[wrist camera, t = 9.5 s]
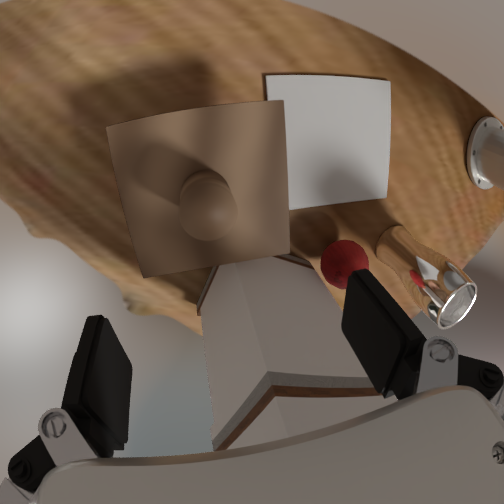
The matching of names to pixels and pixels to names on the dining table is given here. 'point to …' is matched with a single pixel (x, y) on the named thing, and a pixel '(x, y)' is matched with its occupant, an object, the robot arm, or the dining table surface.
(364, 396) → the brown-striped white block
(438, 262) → the beer glass
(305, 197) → the mat
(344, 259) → the onion
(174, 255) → the lid
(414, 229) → the dining table surface
